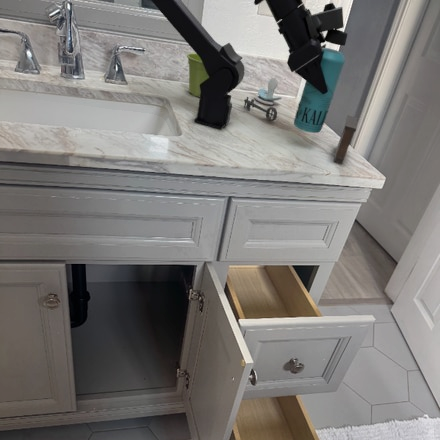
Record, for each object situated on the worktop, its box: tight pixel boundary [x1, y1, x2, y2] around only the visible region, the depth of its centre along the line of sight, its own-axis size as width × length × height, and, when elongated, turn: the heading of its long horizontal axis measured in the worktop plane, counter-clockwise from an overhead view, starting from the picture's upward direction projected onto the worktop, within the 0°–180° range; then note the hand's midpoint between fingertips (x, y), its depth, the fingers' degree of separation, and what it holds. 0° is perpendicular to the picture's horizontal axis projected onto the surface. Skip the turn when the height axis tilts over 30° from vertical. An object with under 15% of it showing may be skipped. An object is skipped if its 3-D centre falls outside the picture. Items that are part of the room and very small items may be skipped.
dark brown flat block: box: [333, 114, 358, 165], centre depth 91 cm, size 2×9×8 cm, turn 164°
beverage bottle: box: [293, 29, 348, 134], centre depth 86 cm, size 6×7×20 cm
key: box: [243, 96, 278, 122], centre depth 105 cm, size 12×1×3 cm, turn 39°
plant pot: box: [186, 52, 209, 98], centre depth 109 cm, size 9×9×9 cm
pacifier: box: [254, 77, 282, 106], centre depth 115 cm, size 7×6×6 cm
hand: (326, 89), depth 86 cm, fingers closed on beverage bottle, 6 cm apart
